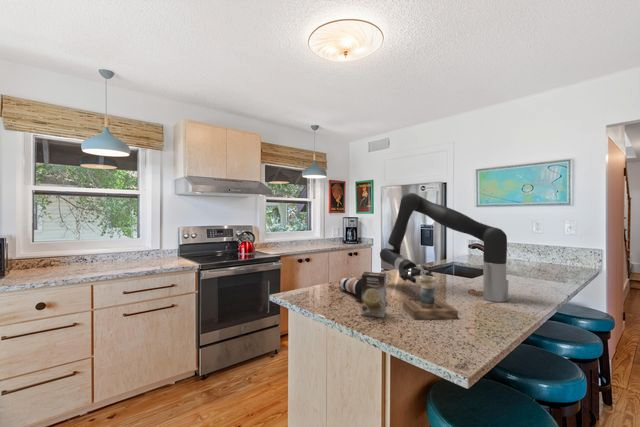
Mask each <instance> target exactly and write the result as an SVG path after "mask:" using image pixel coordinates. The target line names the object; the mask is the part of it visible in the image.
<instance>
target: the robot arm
mask: <svg viewBox="0 0 640 427" xmlns="http://www.w3.org/2000/svg"><path fill="white" fill-rule="evenodd" d="M398 208H399V209H398V213H397V217H396V218H395V219H396V220H395V223H394V225H393V228H392V230H391V233H390V235H389V238H388V241H387V242H388V244H389V245H390V246H392V247H393V248H387V247H385V248H383V249H381V250H380V252H379V258H380V259H381V260H382V262H385V263H387V264H389V265H391V266H392V267H394V268H396V270H397V271H398V277H399V278H401V279H402V280H403V282H406V281H409V282H411V283H413V284H417V279H416V278H415V277H420V276H432V277H434V274H432V269H431V268H429V267H427V266H425V265H422V267H419V266H417V264H416V263H415V262H414V261H411V259H409V258H406V257H404V256H403V255H401V249H402V248H401V247H402V244H403V241H404V238H405V235H406V232H407V228H408V223H409V220H410V218H411V216H412V214H413V212H417V213H420V214H421V215H424V216H427V217H428V218H430V219H431V220H433V222H436V223H438V224H439V225H441V226H443V227H446V228H448V229H450V230H453V231H456V232H459V233H462V234H467V235H469V236H472V237H474V238H476V239H478V240H480V241H481V242H483V254H482V255H483V261H482V262H483V265H482V266H483V268H482V270H483V272H482V273H483V274H482V275H483V276H482V277H483V283H482V284H483V286H482V287H483V290H482V291H483V294H482V296H483V297H482V298H483V299H484V300H486V301H489V302H497V303H504V302H505V303H506V302H508V301H509V279H507V257H508V236H507V234H506V233H505V231H504V230H502V229H501V228H498V227H494V226H491V225H488V224H485V223H482V222H479V221H477V220H475V219H473V218H472V217H469V216H468V215H466V214H464V213H462V212H460V211H458V210H455V209H453V208H450V207H447V206H445V205H441V204H438V203H436V202H435V203H434V202H432V201H430V200H428V199H426V198H424V197H422V196H421V195H418V193H414V192H408V193H407V192H406V193H404V194H403V195H402V197H401V199H400V203H399V207H398Z"/></svg>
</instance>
